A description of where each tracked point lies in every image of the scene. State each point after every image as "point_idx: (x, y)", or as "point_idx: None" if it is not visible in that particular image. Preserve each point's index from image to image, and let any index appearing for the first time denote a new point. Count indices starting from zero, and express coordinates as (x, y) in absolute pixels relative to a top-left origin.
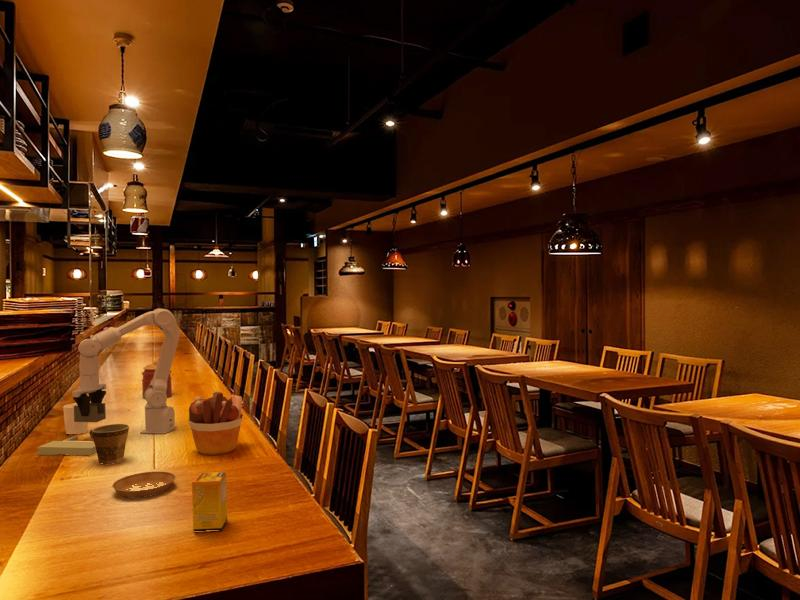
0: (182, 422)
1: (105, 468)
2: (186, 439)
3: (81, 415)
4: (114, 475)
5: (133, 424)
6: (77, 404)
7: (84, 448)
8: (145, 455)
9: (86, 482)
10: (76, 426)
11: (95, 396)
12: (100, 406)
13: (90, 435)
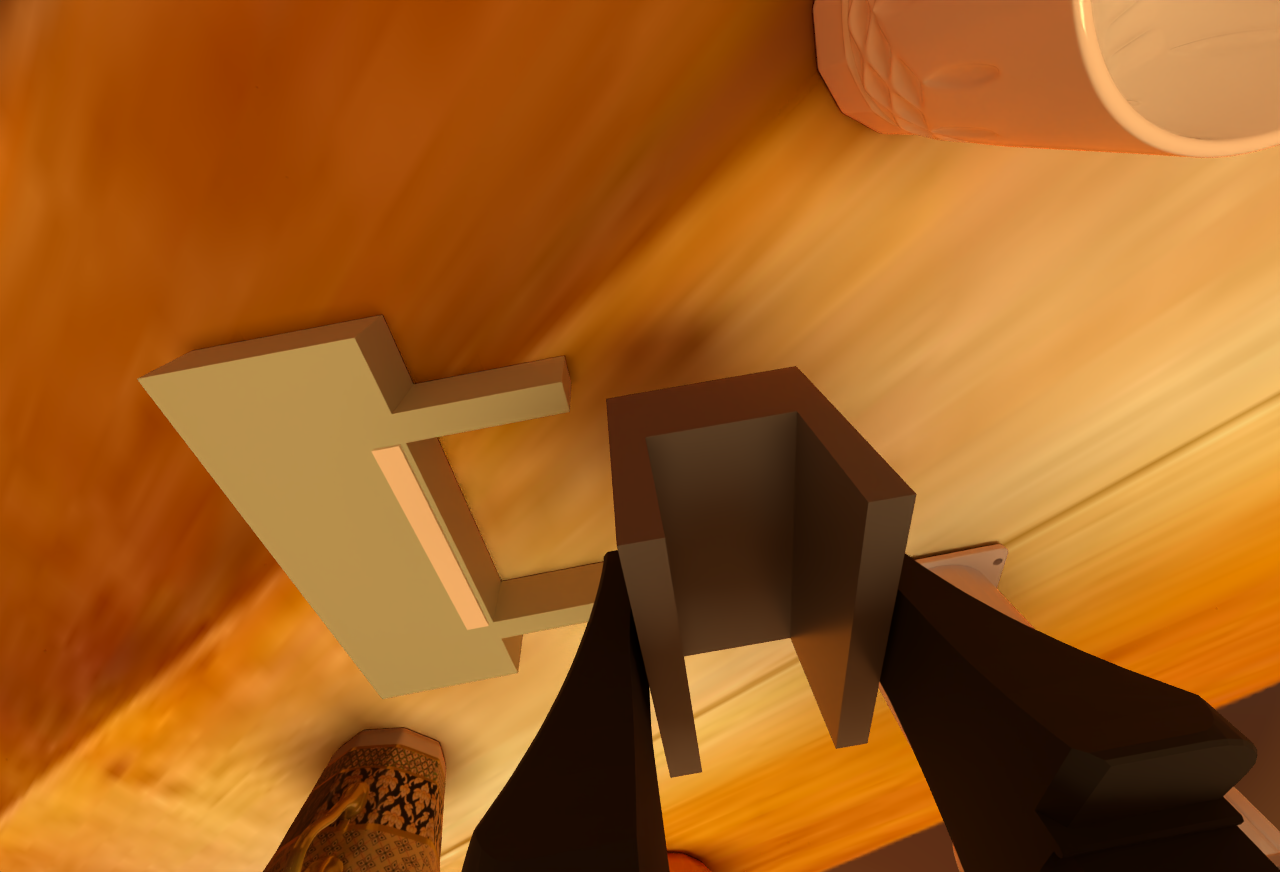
0: (1114, 595)
1: None
2: (764, 768)
3: (604, 560)
4: None
5: (1160, 348)
6: (556, 703)
7: (363, 669)
8: None
9: (172, 836)
10: (872, 92)
11: (963, 766)
12: (821, 683)
13: (297, 840)
